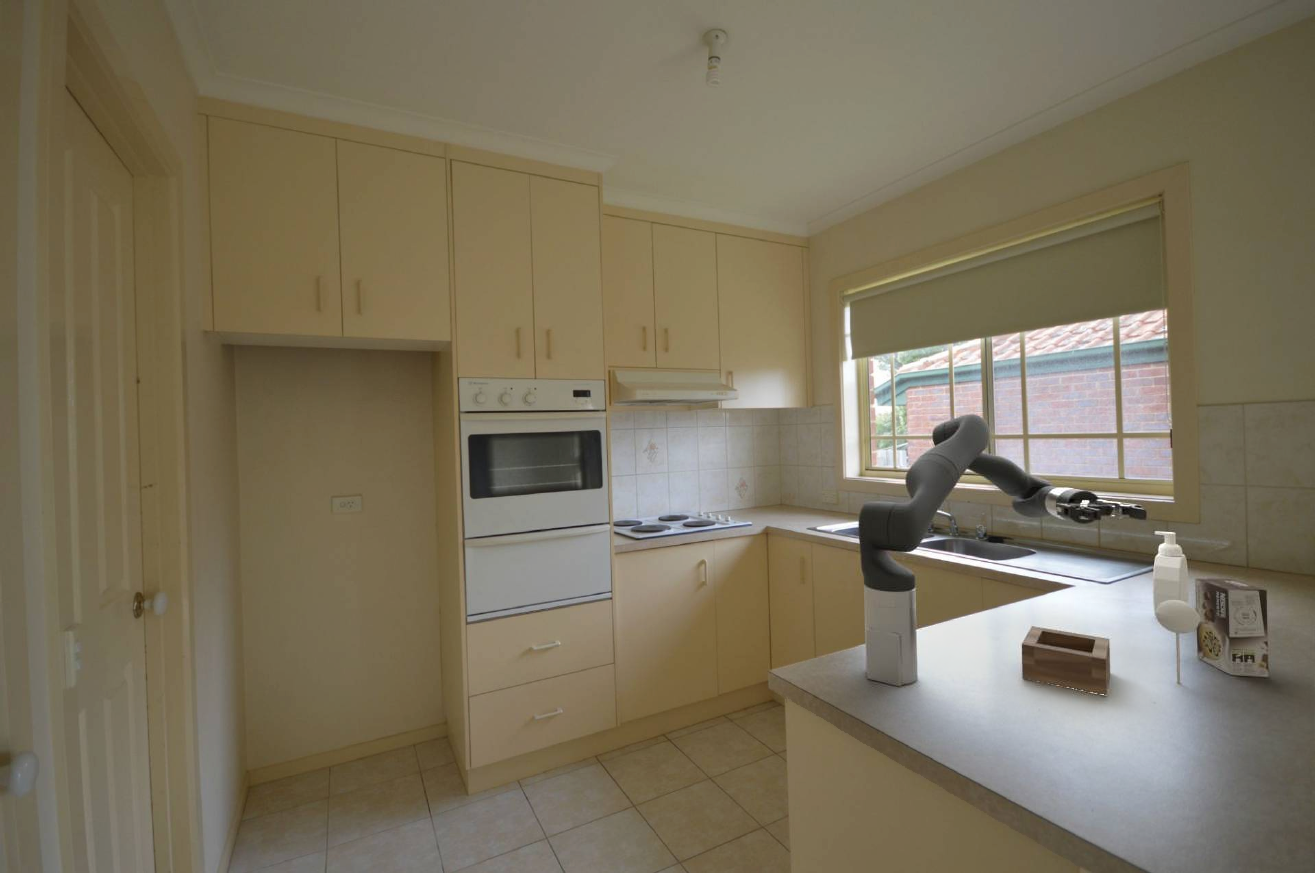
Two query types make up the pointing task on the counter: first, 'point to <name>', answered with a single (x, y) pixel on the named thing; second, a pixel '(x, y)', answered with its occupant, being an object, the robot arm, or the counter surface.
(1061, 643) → the base
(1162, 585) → the soap bottle
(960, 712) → the counter surface
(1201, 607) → the coffee box
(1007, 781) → the counter surface
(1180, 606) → the lollipop
